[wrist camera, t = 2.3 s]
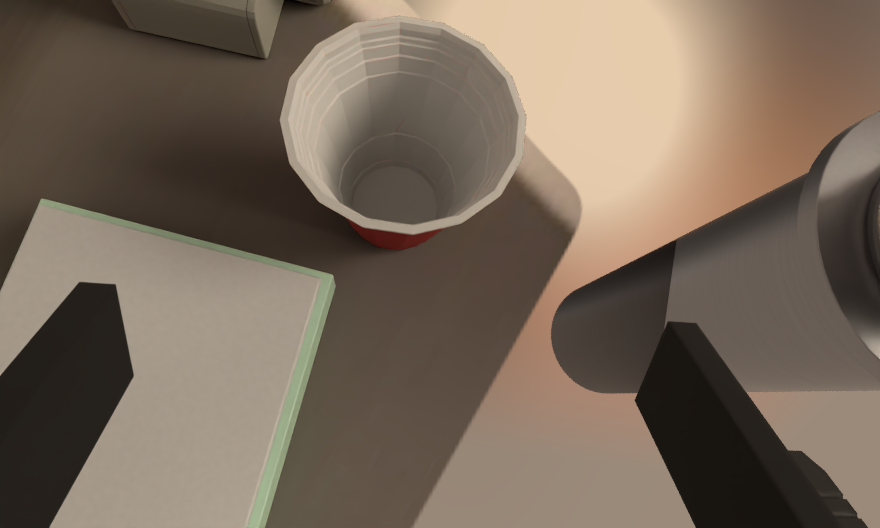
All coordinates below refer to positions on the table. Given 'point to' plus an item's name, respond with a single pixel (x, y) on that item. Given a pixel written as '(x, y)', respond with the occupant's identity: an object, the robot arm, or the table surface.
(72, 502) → the kitchen scale
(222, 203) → the table surface
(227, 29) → the digital clock
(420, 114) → the plastic cup
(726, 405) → the robot arm
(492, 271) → the table surface
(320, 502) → the table surface
